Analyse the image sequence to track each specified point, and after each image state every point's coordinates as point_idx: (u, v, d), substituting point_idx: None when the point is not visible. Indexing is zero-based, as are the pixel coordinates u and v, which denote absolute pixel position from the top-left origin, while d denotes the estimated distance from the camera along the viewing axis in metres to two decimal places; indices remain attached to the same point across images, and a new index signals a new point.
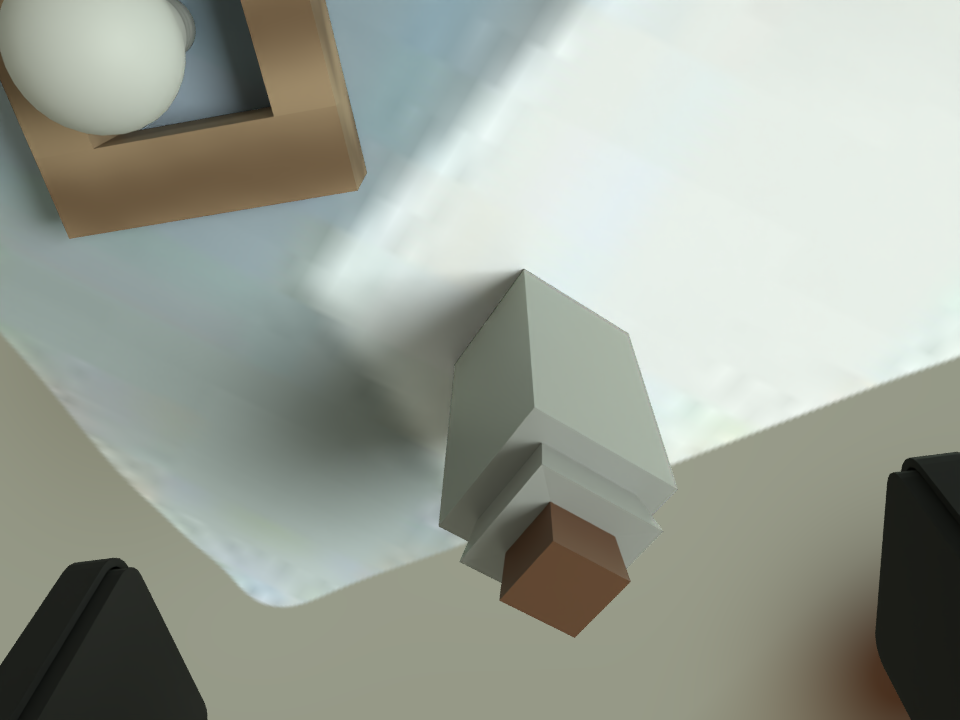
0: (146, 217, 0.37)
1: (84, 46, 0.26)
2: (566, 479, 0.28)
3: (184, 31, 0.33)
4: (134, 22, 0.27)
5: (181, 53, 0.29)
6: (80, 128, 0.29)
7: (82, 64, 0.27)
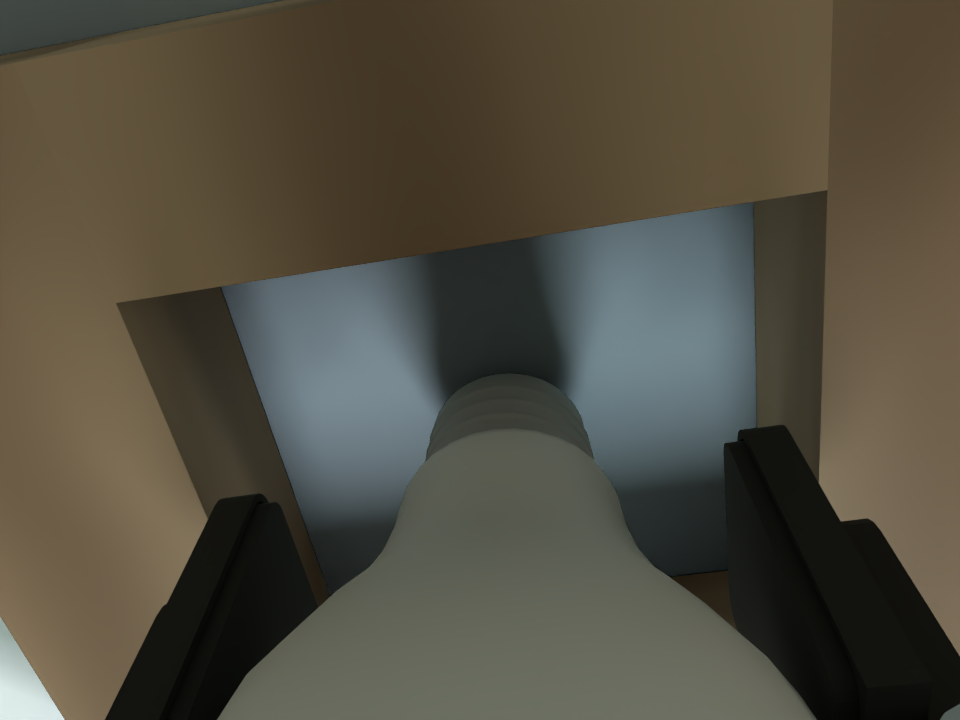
0: None
1: None
2: None
3: None
4: None
5: None
6: None
7: None
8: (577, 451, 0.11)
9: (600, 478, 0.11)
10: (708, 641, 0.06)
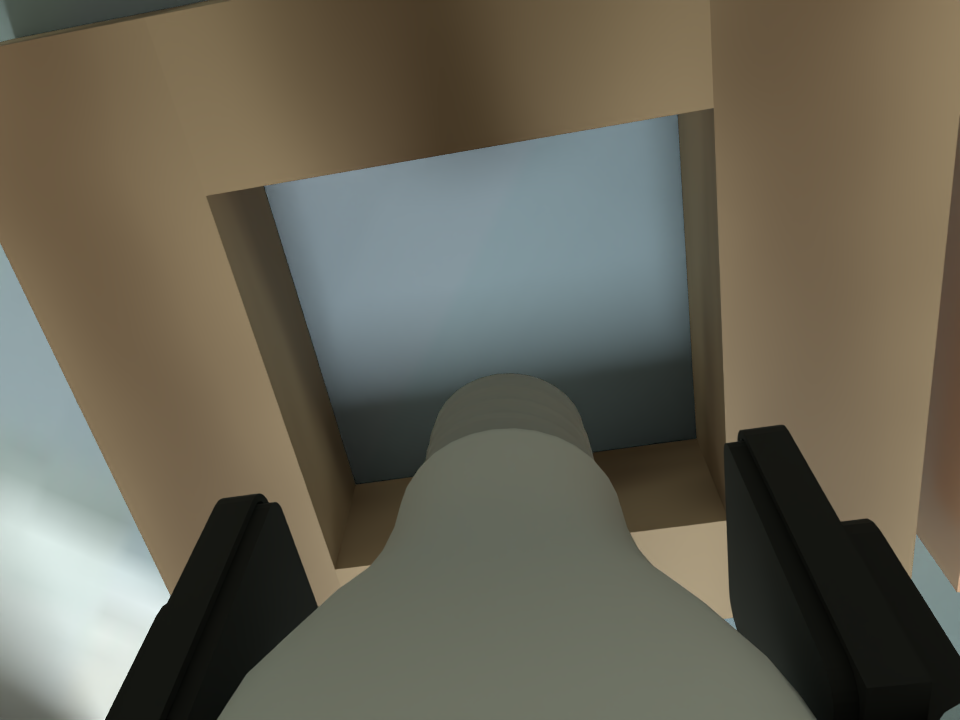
0: (45, 290, 0.14)
1: None
2: None
3: None
4: None
5: None
6: None
7: None
8: (577, 451, 0.11)
9: (600, 478, 0.11)
10: (708, 641, 0.06)
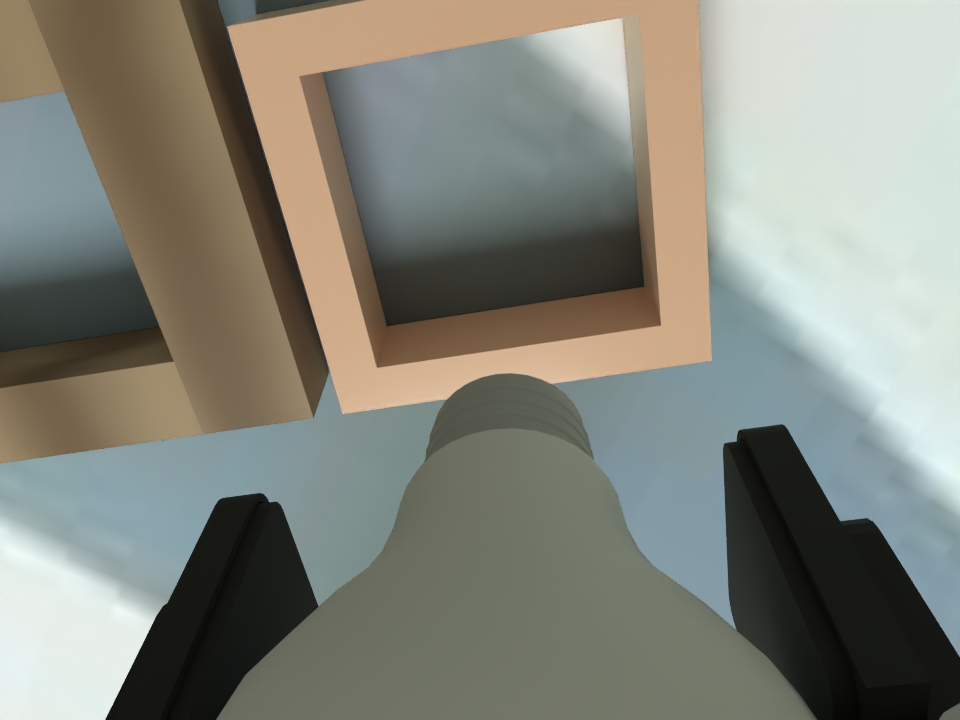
0: None
1: None
2: None
3: None
4: None
5: None
6: None
7: None
8: (577, 451, 0.11)
9: (600, 478, 0.10)
10: (708, 642, 0.06)
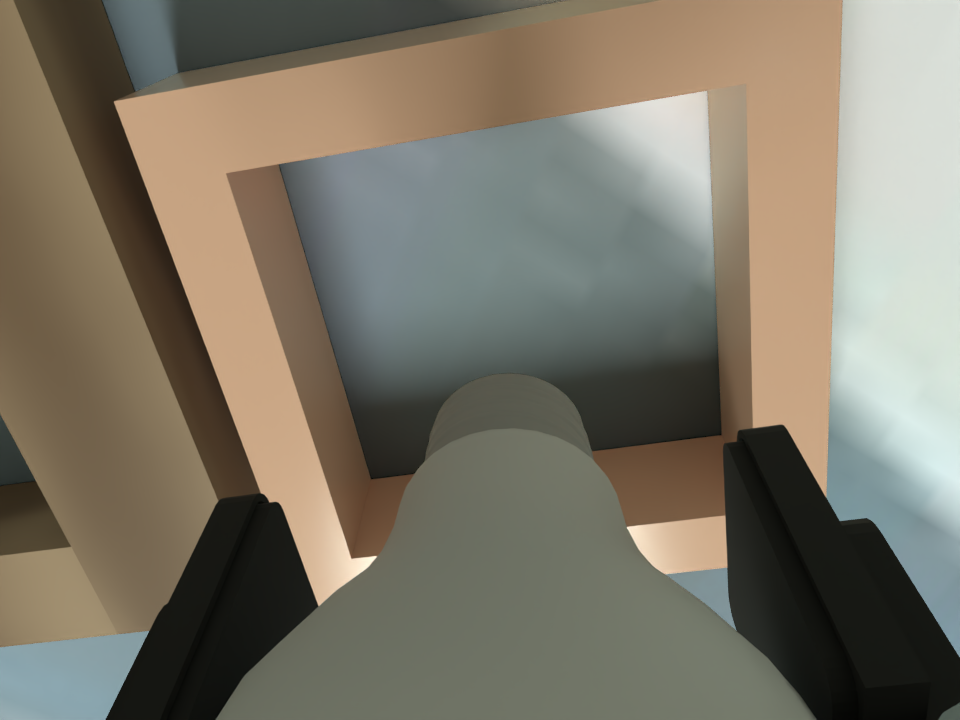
0: None
1: None
2: None
3: None
4: None
5: None
6: None
7: None
8: (577, 451, 0.11)
9: (600, 478, 0.10)
10: (708, 642, 0.06)
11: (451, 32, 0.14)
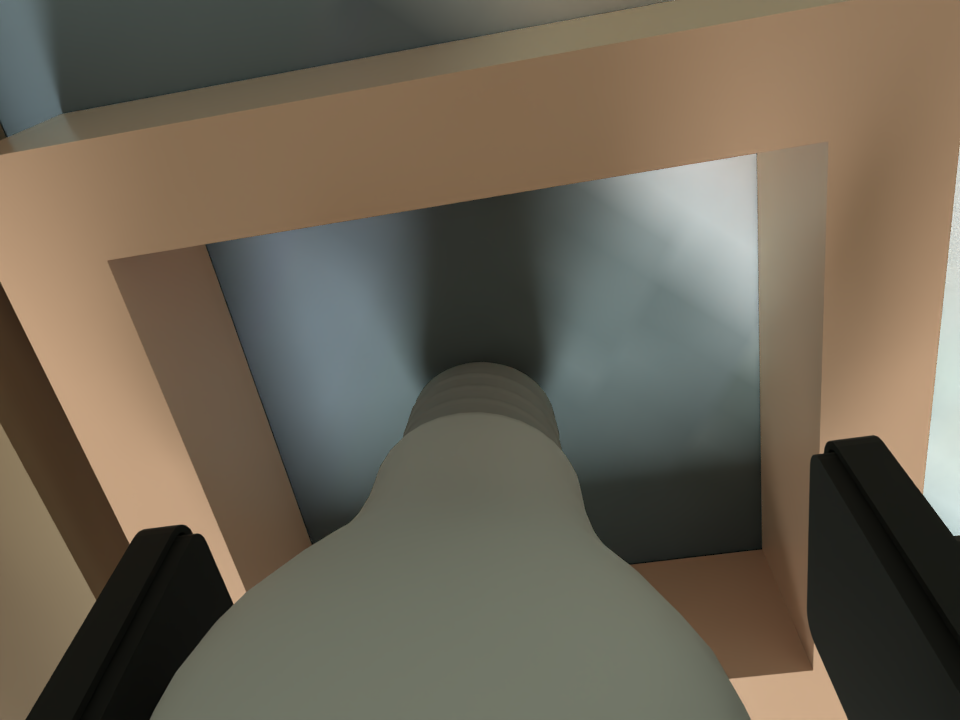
0: None
1: None
2: None
3: None
4: None
5: None
6: None
7: None
8: (539, 434, 0.11)
9: (559, 460, 0.11)
10: (621, 596, 0.07)
11: (416, 67, 0.10)
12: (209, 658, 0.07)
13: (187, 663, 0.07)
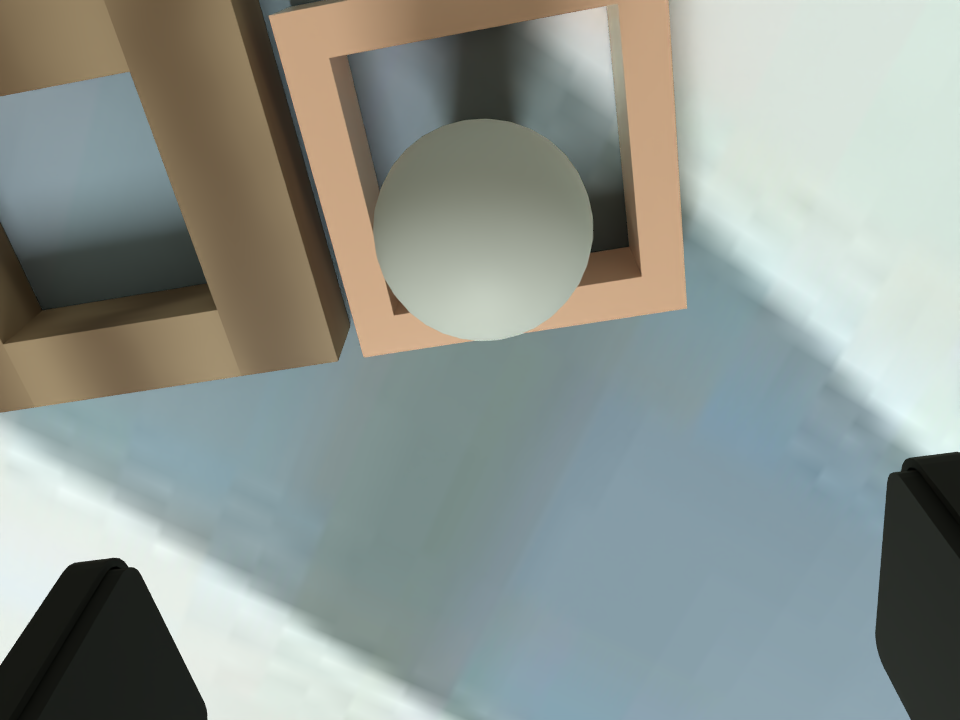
0: None
1: (498, 307, 0.21)
2: None
3: None
4: (519, 333, 0.22)
5: None
6: (386, 239, 0.21)
7: (477, 302, 0.20)
8: None
9: None
10: (537, 133, 0.22)
11: None
12: (407, 149, 0.22)
13: (397, 160, 0.22)
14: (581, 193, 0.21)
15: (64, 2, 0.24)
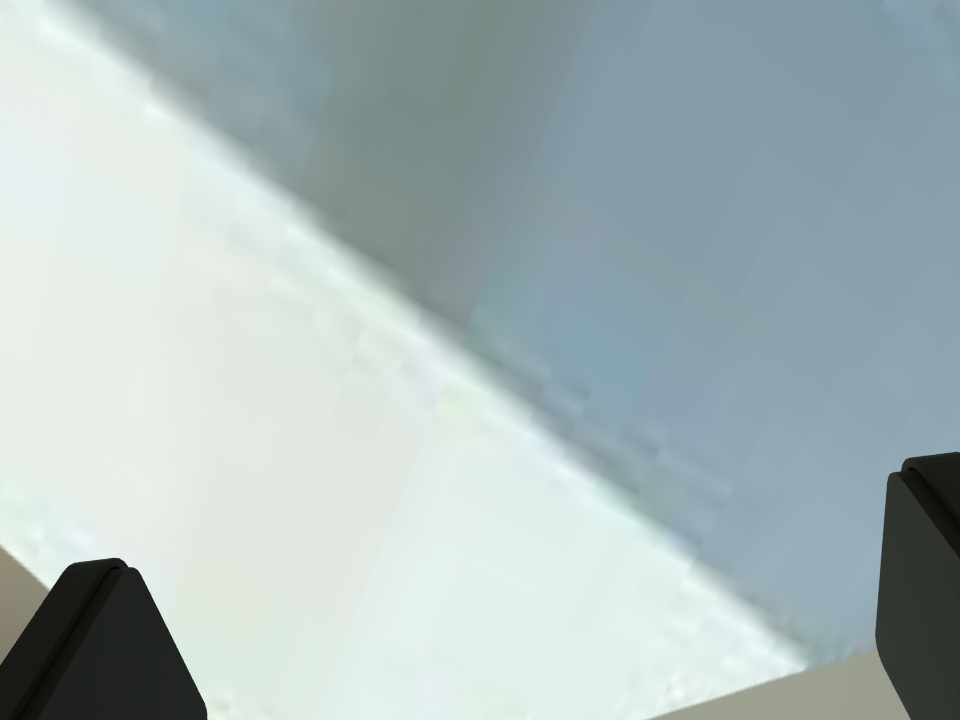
0: None
1: None
2: None
3: None
4: None
5: None
6: None
7: None
8: None
9: None
10: None
11: None
12: None
13: None
14: None
15: None
